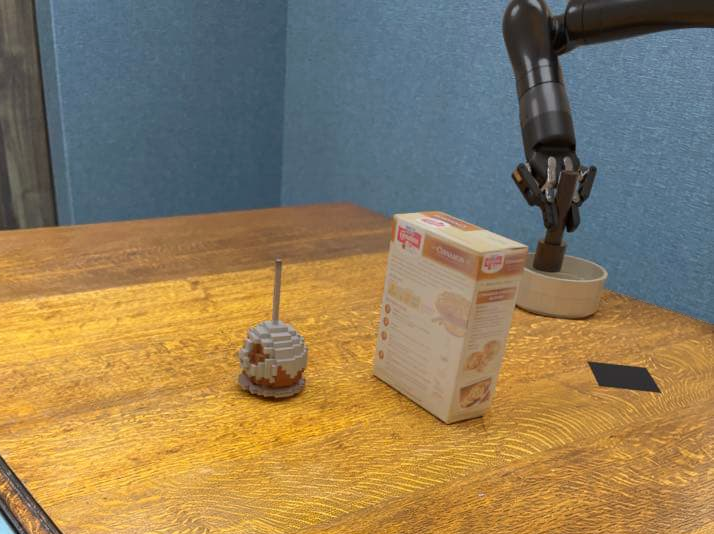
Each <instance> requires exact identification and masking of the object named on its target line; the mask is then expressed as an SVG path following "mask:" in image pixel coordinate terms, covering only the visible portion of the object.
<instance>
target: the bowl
mask: <svg viewBox="0 0 714 534" xmlns="http://www.w3.org/2000/svg"><path fill="white" fill-rule="evenodd" d="M535 252H536V251H533V252H528V253H527V257H526V261H525V265H524V270H523V274H522V278H521V283H520V287H519V291H518V295H517V300H516V304H515V306H517V307H518V308H521V309H523V310H524V311H527V312H530V313H533V314H536V315H540V316H544V317H547V318H548V317H549V318H556V319H564V320H565V319H567V320H569V319H570V320H572V319H573V320H574V319H581V318H586V317H588V316H591V315H593V314H594V313H596V312H597V311H598V309H599V306H600V303H601V299H602V297H603V292H604V289H605V285H606V283H607V279H608V275H609V272H608V271H607V269H605V268H604V267H603V266H601V265H599V264H597V263H595V262H593V261H591V260H588V259H584V258H581V257H577V256H575V255H574V256H573V255H569V254H565V256H564V259H563V263H562V267H561V271H560V272H556V273H549V272H543V271H539V270H536V269H534V268H533V267H532V265H533V261H534V257H535Z"/></svg>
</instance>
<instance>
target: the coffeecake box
mask: <svg viewBox="0 0 714 534" xmlns="http://www.w3.org/2000/svg"><path fill="white" fill-rule="evenodd" d="M529 249H530V247H529V246H528V245H526V244H523V243H520V242H518V241H516V240H513V239H510V238H507V237H505V236H502V235H500V234H498V233H495V232H492V231H490V230H487V229H485V228H482V227H480V226H478V225H475V224H473V223H470V222H467V221H466V220H462V219H460V218H457V217H454V216H452V215H450V214H448V213H444V212H442V211H439V210H432V211H418V212H409V213H408V212H407V213H395V214H393V219H392V228H391V236H390V242H389V249H388V256H387V257H388V258H387V264H386V272H385V279H384V287H383V293H382V301H381V308H380V315H379V323H378V329H377V336H376V337H377V338H376V346H375V352H374V360H373V366H372V375H373V376H375V377H376V378H378V379H379V380H381V381H382V382H384V383H386V384H387V385H388V386H390V387H391V388H393V389H395V391H397V392H399V393H400V394H402V395H403V396H405V397H407V398H408V399H410V400H411V401H412V402H414V403H415V404H417V405H418V406H420V407H421V408H423V409H424V410H425V411H427V412H429V413H430V414H432V415H433V416H435V417H436V418H438V419H439V420H441V421H442V422H444V424H446V425H449V424H453V423H457V422H461V421H464V420H470V419H475V418H480V417H483V416H484V415H483V414H486V413H490V412H491V410H492V408H493V407H492V406H493V402H494V398H495V394H496V389H497V385H498V381H499V376H500V373H501V367H502V364H503V359H504V355H505V351H506V347H507V342H508V338H509V334H510V329H511V325H512V320H513V317H514V311H515V307H516V300H517V295H518V291H519V287H520V283H521V278H522V274H523V270H524V265H525V261H526V257H527V253H529Z"/></svg>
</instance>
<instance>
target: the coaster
mask: <svg viewBox="0 0 714 534" xmlns="http://www.w3.org/2000/svg"><path fill="white" fill-rule="evenodd" d="M587 364H588V366H589V368H590V371H591V372H592V374H593V376H594V379H595V380H596V383H597V385H598V386H599V387H601V388H602V387H603V388H610V389H611V388H612V389H622V390H630V391H638V392H649V393H656V394H657V393H658V394H662V391H661V389H660V388H659V385H658V384H657V382H656V381H655V379H654V378H653V377H652V375H651V373H650V372H649V370H648V368H647V367H645V366H644V367H643V366H634V365H627V364H626V365H625V364H617V363H608V362H607V363H606V362H600V361H599V362H598V361H590V360H587Z"/></svg>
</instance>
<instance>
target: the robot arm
mask: <svg viewBox="0 0 714 534" xmlns="http://www.w3.org/2000/svg"><path fill="white" fill-rule="evenodd" d="M501 20H502V21H501V31H502V38H503V41H504V46H505V48H506V52H507V55H508V58H509V59H508V60H509V63H510V64H511V68H512V71H513V74H514V79H515V90H516V96H517V103H518V117H519V119H518V120H519V127H520V132H521V138H522V145H523V152H524V158H525V160H526V161H525V163H524V162H519V164H518V165H517V166H516V167H515V169H514V170H513V172H512V173H511V174H510V177H511V179H512V181H513V182H514V183H515V185H516V187H517V188H518V190H519V191H520V193H521V195H522V197H523V198H524V200H525V201H526V203H527V205H528V206H530V207H534V206H535V207H538V208H539V210H540V211H541V215H542V221H543V226H544V229H546V231H548V232H554V231H555V230H556V229H557V228H558V226H559V220H558V214H557V207H556V203H553V202H554V197H555V190H556V189H557V185H558V180H559V176H560V172H561V171H563V170H568V171H574V172H577V173H579V175H578V179H577V183H576V187H575V191H574V195H573V199H572V203H571V207H570V211H569V215H568V219H567V223H566V227H565V231H566V233H568V234H572V233H574V232H575V231H576V230H577V229H578V228H579V225H580V224H581V216H580V210H579V209H580V207H581V206H583V204H584V203H585V202H586V201H587V200H588V199H589V198H590V195H591V192H592V188H593V185H594V181H595V179H596V176H597V172H598V168H597V166H595V165H590V167H587V166H585V165H583V164H581V160H580V158H579V157H578V155H577V153H576V151H577V138H576V132H575V128H574V127H575V126H574V121H573V117H572V116H573V114H572V109H571V103H570V100H569V96H568V93H567V90H566V83H565V79H564V72H563V67H562V64H561V61H560V59H559V57H561V56H563V55H566V54H568V53H570V52H573V51H575V50H577V49H578V48H582V47H589V46H595V45H602V44H603V45H604V44H607V43H608V44H609V43H615V42H620V41H625V40H630V39H635V38H640V37H643V36H647V35H652V34H656V33H663V32H669V31H676V30H689V29H690V30H691V29H714V0H568V2H567V4H566V6H565V9H564V12H563V13H561V14H553V13H552V11H551V8H550V7H549V5H548V3H547V1H546V0H510V1H509V3H508V4H507V6H506V8H505V10H504V12H503V15H502V19H501ZM577 186H578V187H577Z"/></svg>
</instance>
